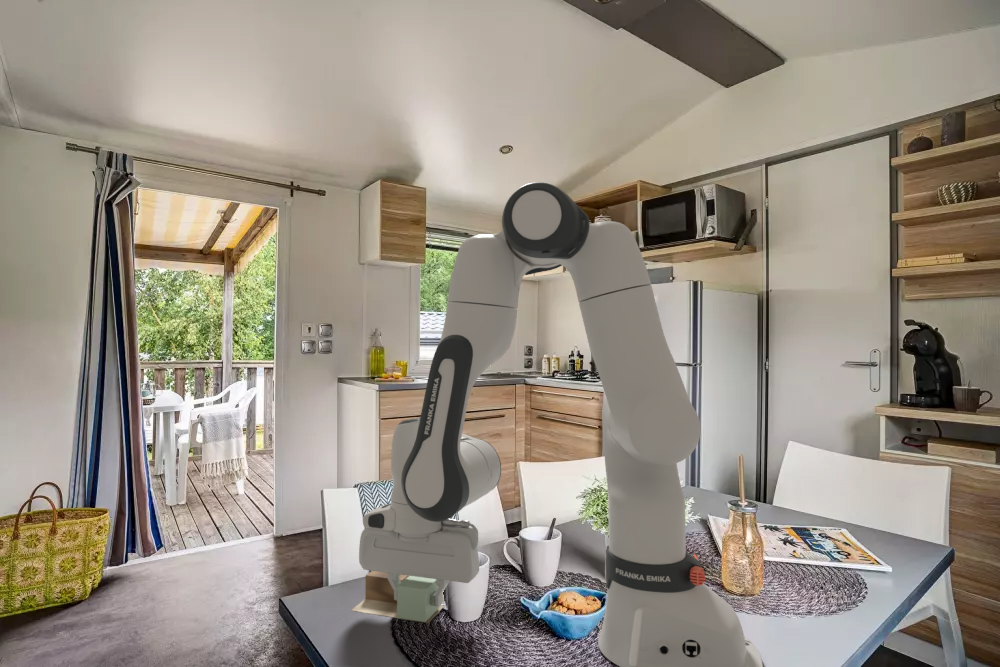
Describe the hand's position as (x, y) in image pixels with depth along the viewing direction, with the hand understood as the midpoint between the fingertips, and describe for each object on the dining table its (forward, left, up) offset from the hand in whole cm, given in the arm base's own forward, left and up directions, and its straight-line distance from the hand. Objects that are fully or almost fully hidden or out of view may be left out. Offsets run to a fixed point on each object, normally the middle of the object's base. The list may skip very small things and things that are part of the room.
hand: (418, 602), depth 90 cm
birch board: (+4, -4, -3) cm, 6 cm away
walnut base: (+8, -6, -2) cm, 10 cm away
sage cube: (0, 0, -2) cm, 2 cm away
